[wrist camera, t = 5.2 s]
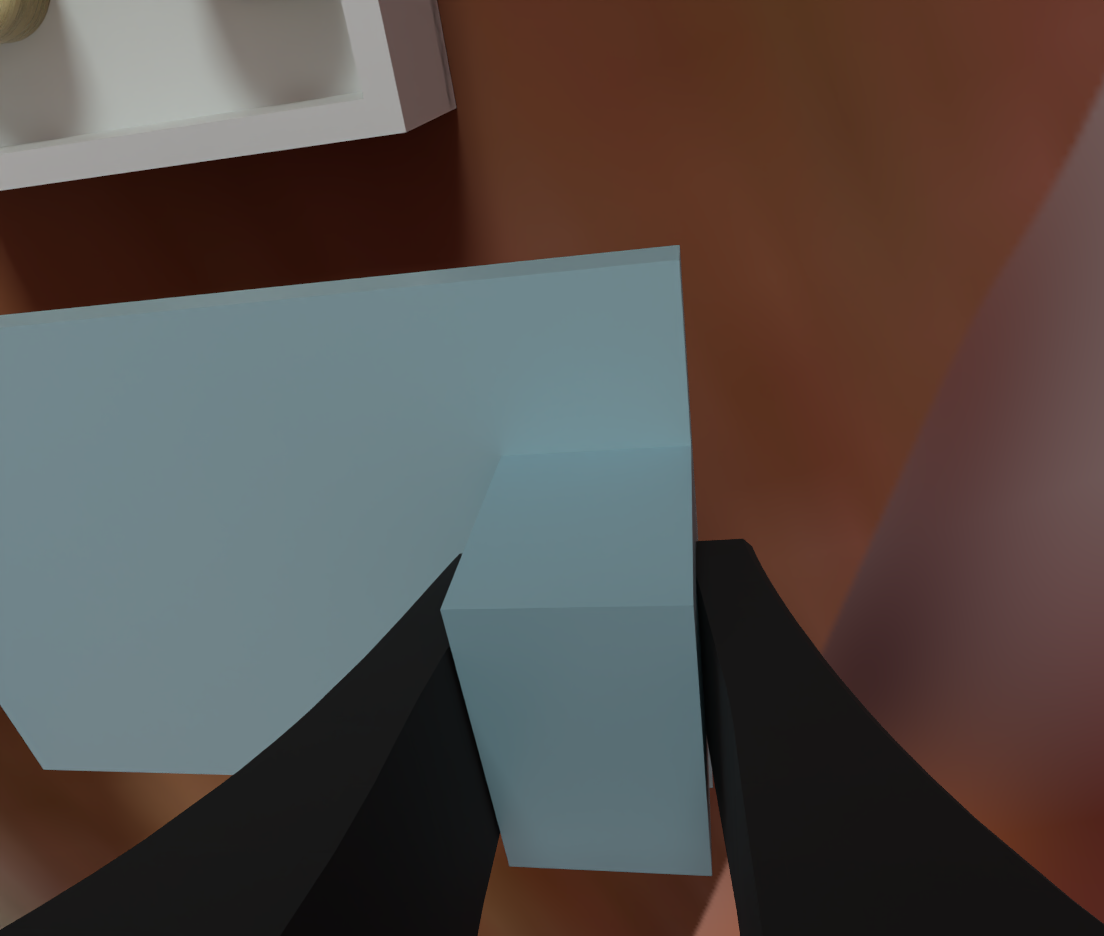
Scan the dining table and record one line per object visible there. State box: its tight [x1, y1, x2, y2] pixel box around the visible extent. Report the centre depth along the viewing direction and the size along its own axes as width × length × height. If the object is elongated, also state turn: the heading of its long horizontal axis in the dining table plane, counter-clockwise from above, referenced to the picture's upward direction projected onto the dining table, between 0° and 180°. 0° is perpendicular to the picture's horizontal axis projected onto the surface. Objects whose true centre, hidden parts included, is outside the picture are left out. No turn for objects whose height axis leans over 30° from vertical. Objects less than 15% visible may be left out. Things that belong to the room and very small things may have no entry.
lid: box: [0, 245, 713, 876], centre depth 11 cm, size 13×9×4 cm
